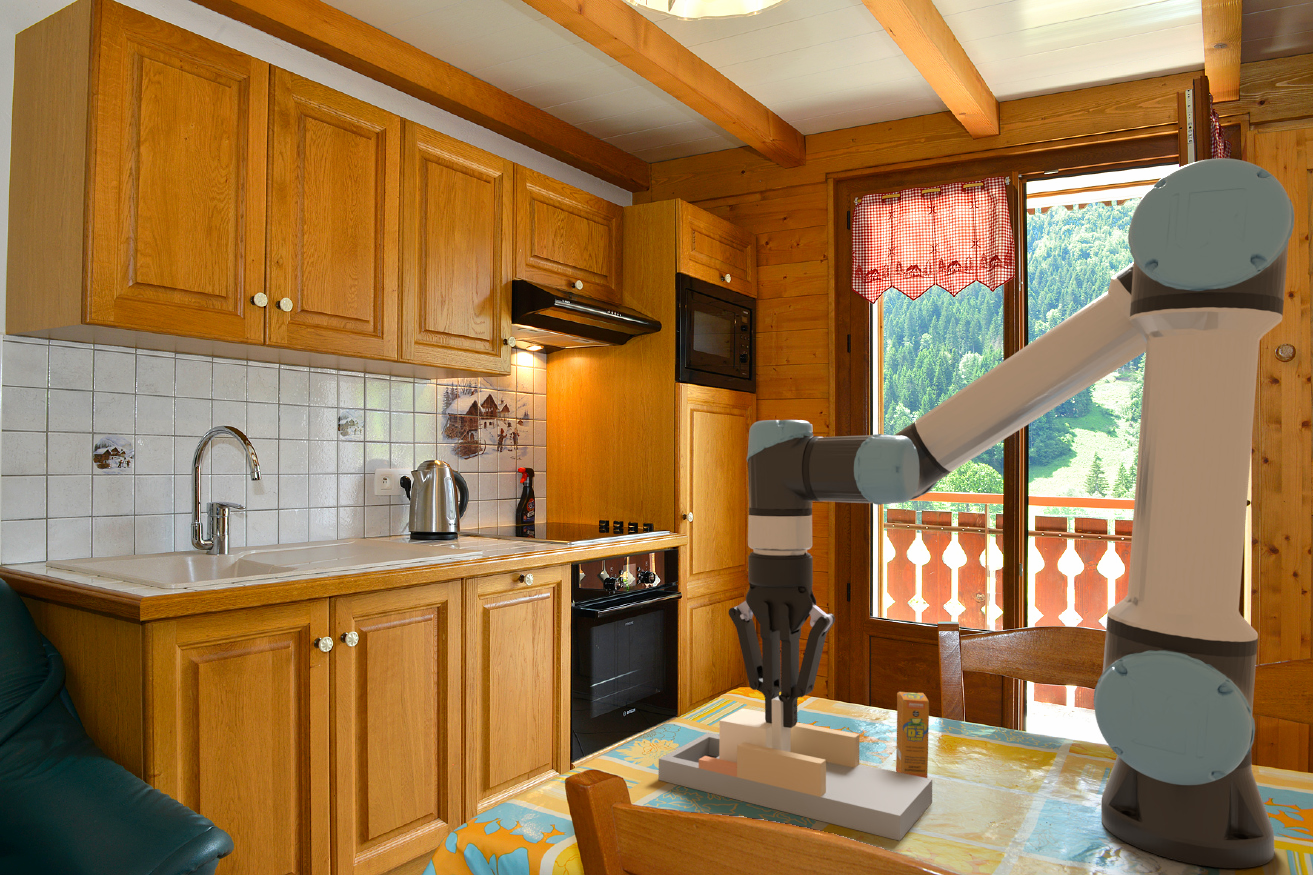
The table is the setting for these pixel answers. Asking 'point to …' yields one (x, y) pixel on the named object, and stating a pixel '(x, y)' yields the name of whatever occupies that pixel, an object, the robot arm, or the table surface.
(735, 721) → the block
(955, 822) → the table surface
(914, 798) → the tray
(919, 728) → the supplement box
